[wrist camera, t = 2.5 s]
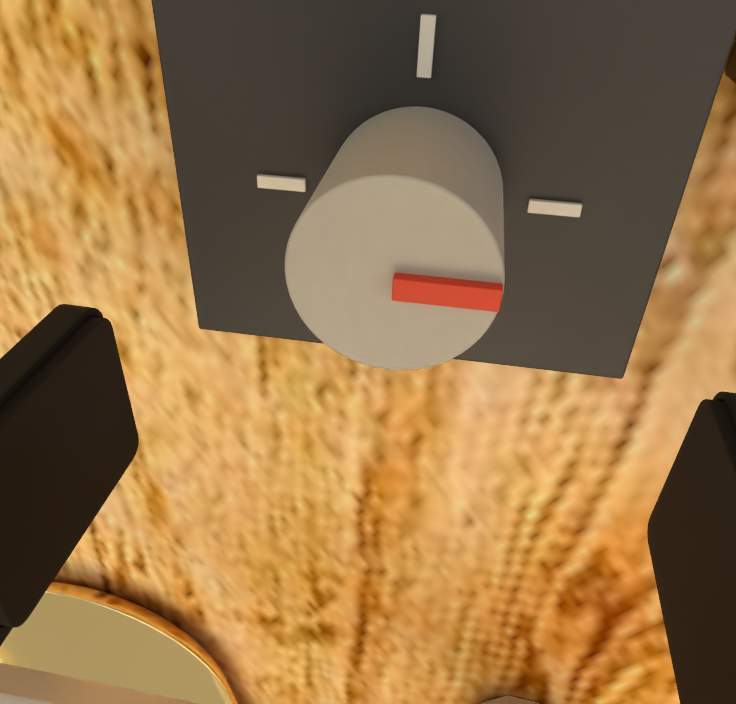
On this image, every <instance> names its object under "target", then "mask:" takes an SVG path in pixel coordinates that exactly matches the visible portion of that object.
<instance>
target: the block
mask: <svg viewBox="0 0 736 704" xmlns="http://www.w3.org/2000/svg"><path fill="white" fill-rule="evenodd" d="M726 76H728V77H729V78H730V79H731V80H732V81H734V82H735V83H736V43H735V46H734V49H733V52H732V55H731V58H730V61H729V64H728V67H727V70H726Z"/></svg>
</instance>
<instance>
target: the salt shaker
mask: <svg viewBox="0 0 736 704" xmlns="http://www.w3.org/2000/svg"><path fill="white" fill-rule="evenodd" d="M482 704H539V703H538V702H534V701H530V700H526V699H521V698H517V697H513V696H509V695H507V696H503V697H499V698H496V699H492V700H489V701H485V702H482Z"/></svg>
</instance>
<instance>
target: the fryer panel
mask: <svg viewBox="0 0 736 704" xmlns="http://www.w3.org/2000/svg"><path fill="white" fill-rule="evenodd" d="M152 6H153V13H154V20H155V27H156V34H157V41H158V47H159V54H160V61H161V68H162V75H163V82H164V89H165V96H166V103H167V110H168V117H169V123H170V130H171V137H172V144H173V151H174V158H175V165H176V172H177V179H178V186H179V192H180V199H181V206H182V213H183V220H184V227H185V234H186V241H187V248H188V255H189V262H190V268H191V275H192V282H193V289H194V296H195V303H196V310H197V317H198V324H199V328H200V329H207V330H215V331H224V332H232V333H241V334H249V335H257V336H266V337H274V338H283V339H291V340H300V341H308V342H317V343H323V342H322V341H321V340H320V339H319V338H317V337H316V336H315V334H314V333H313V332H312V331H311V330H310V329H309V328H308V327H307V325H306V324H305V323H304V321H303V320H302V319H301V317H300V316H299V314H298V312H297V310H296V309H295V307H294V304H293V302H292V299H291V297H290V294H289V291H288V287H287V283H286V276H285V254H286V248H287V243H288V240H289V237H290V234H291V232H292V230H293V228H294V226H295V224H296V222H297V220H298V218H299V217H300V215H301V213H302V212H303V210H304V208H305V207H306V205H307V203H308V201H309V200H310V198H311V196H312V195H313V193H314V191H315V190H316V188H317V186H318V185H319V183H320V181H321V180H322V178H323V176H324V175H325V173H326V171H327V170H328V168H329V166H330V165H331V163H332V161H333V160H334V158H335V156H336V155H337V153H338V151H339V150H340V148H341V146H342V145H343V143H344V142H345V141H346V139H347V138H348V137H349V136H350V134H351V133H352V132H353V131H354V130H355V129H356V128H358V127H359V126H360V125H361V124H362V123H364V122H365V121H367V120H368V119H370V118H372V117H373V116H375V115H378V114H380V113H382V112H385V111H388V110H392V109H395V108H401V107H409V106H410V107H428V108H434V109H438V110H441V111H445V112H447V113H450V114H452V115H454V116H456V117H458V118H460V119H461V120H463V121H465V122H466V123H468V124H469V125H470V126H471V127H473V128H474V129H475V130H476V131H477V132H478V133H479V134H480V135H481V136H482V137H483V138H484V139H485V141H486V142H487V144H488V145H489V146H490V148H491V149H492V151H493V153H494V155H495V157H496V159H497V162H498V165H499V168H500V171H501V176H502V181H503V208H504V264H505V283H504V293H503V297H502V301H501V305H500V311H499V312H497V314H496V317H495V318H494V320H493V322H492V323H491V325H490V327H489V328H488V329H487V331H486V332H485V333H484V334H483V336H482V337H481V338H480V339H479V340H478V341H477V342H476V343H474V344H473V345H472V346H471V347H470V348H468V349H467V350H466V351H464V352H463V353H461V354H460V355H458V356H456V357H454V358H452V359H460V360H468V361H477V362H485V363H494V364H502V365H511V366H519V367H527V368H536V369H544V370H553V371H561V372H570V373H578V374H586V375H595V376H603V377H612V378H620V379H621V378H623V376H624V373H625V370H626V367H627V364H628V361H629V358H630V355H631V352H632V349H633V346H634V343H635V339H636V336H637V333H638V330H639V327H640V324H641V321H642V318H643V315H644V312H645V309H646V306H647V303H648V300H649V297H650V294H651V291H652V288H653V285H654V282H655V278H656V275H657V272H658V269H659V266H660V263H661V260H662V257H663V254H664V251H665V248H666V245H667V242H668V239H669V236H670V233H671V230H672V227H673V224H674V221H675V217H676V214H677V211H678V208H679V205H680V202H681V199H682V196H683V193H684V190H685V187H686V184H687V181H688V178H689V175H690V172H691V169H692V166H693V163H694V160H695V156H696V153H697V150H698V147H699V144H700V141H701V138H702V135H703V132H704V129H705V126H706V123H707V120H708V117H709V114H710V111H711V108H712V105H713V102H714V99H715V95H716V92H717V89H718V86H719V83H720V80H721V77H722V74H723V71H724V68H725V65H726V62H727V59H728V56H729V53H730V50H731V47H732V44H733V41H734V38H735V34H736V0H152Z"/></svg>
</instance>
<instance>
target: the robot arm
mask: <svg viewBox="0 0 736 704" xmlns="http://www.w3.org/2000/svg"><path fill="white" fill-rule="evenodd" d="M138 441H139V439H138V433H137V429H136V424H135V420H134V416H133V412H132V408H131V403H130V399H129V395H128V391H127V387H126V382H125V378H124V374H123V370H122V366H121V362H120V357H119V353H118V349H117V345H116V341H115V336H114V332H113V328H112V325H111V322H110V321H109V320H108V319H106V318H103V316H102V313H101V312H100V311H99V310H98V309H95V308H90V307H83V306H75V305H68V304H62V305H59V306H57V307H56V308H54V309H53V310H52V311H51V312H50V313H49V314H48V315H47V316H46V317H45V318H44V319H43V320H42V321H41V322H39V323H38V324H37V325H36V326H35V327H34V328H33V329H32V330H31V331H30V332H29V333H28V334H27V335H26V336H24V337H23V338H22V339H21V340H20V341H19V342H18V343H17V344H16V345H15V346H14V347H13V348H12V349H11V350H9V351H8V352H7V353H6V354H5V355H4V356H3V357H2V358H1V359H0V646H1V645H2V643H3V642H4V640H5V639H6V637H7V636H8V634H9V633H10V631H11V630H12V628H13V627H15V628H17V627H19V626H21V625H22V624H23V623H25V621H26V620H27V619H28V618H29V616H30V615H31V613H32V612H33V610H34V609H35V607H36V606H37V604H38V603H39V601H40V600H41V598H42V597H43V595H44V594H45V592H46V590H47V589H48V587H49V586H50V584H51V583H52V581H53V580H54V578H55V577H56V575H57V574H58V572H59V571H60V569H61V568H62V566H63V565H64V563H65V562H66V560H67V559H68V557H69V556H70V554H71V553H72V551H73V549H74V548H75V546H76V545H77V543H78V542H79V540H80V539H81V537H82V536H83V534H84V533H85V531H86V530H87V528H88V527H89V525H90V524H91V522H92V521H93V519H94V518H95V516H96V515H97V513H98V512H99V510H100V508H101V507H102V505H103V504H104V502H105V501H106V499H107V498H108V496H109V495H110V493H111V492H112V490H113V489H114V487H115V486H116V484H117V483H118V481H119V480H120V478H121V477H122V475H123V474H124V472H125V471H126V469H127V467H128V466H129V464H130V463H131V461H132V460H133V458H134V456H135V455H136V452H137V448H138ZM648 544H649V549H650V554H651V559H652V564H653V569H654V574H655V579H656V584H657V589H658V594H659V599H660V604H661V609H662V614H663V619H664V624H665V629H666V634H667V639H668V644H669V649H670V654H671V659H672V664H673V669H674V674H675V679H676V684H677V689H678V694H679V699H680V704H736V393H729V392H719V393H718V394H717V395H716V396H715V397H714V399H713V400H708V399H705V400H703V401H702V402H701V403H700V405H699V406H698V409H697V411H696V413H695V416H694V418H693V420H692V422H691V425H690V427H689V429H688V432H687V434H686V436H685V438H684V441H683V443H682V445H681V448H680V450H679V452H678V454H677V457H676V459H675V461H674V464H673V466H672V468H671V470H670V473H669V475H668V477H667V480H666V482H665V484H664V486H663V489H662V491H661V493H660V496H659V498H658V500H657V502H656V505H655V507H654V509H653V512H652V514H651V516H650V519H649V523H648ZM0 704H198V703H194V702H189V701H184V700H179V699H175V698H170V697H165V696H160V695H155V694H151V693H146V692H141V691H136V690H131V689H126V688H121V687H116V686H111V685H107V684H102V683H97V682H92V681H87V680H82V679H77V678H72V677H68V676H63V675H58V674H53V673H48V672H43V671H38V670H33V669H28V668H24V667H19V666H14V665H9V664H4V663H0Z"/></svg>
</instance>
